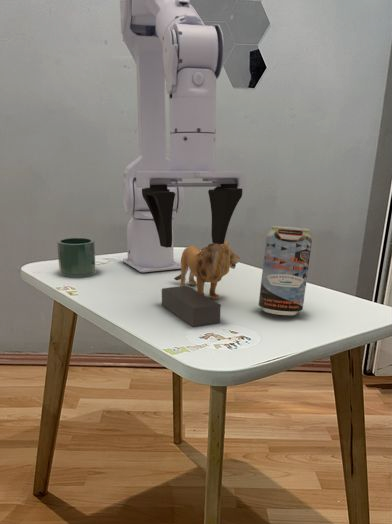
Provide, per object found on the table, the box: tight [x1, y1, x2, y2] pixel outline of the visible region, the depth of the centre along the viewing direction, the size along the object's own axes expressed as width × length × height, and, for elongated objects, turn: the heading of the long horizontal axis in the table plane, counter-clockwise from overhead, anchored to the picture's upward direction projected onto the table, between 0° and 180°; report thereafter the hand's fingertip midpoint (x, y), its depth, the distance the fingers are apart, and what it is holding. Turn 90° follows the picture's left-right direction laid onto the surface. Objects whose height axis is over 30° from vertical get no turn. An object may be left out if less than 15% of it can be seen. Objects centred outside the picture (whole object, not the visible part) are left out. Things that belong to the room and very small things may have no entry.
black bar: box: [161, 285, 221, 327], centre depth 77 cm, size 10×4×2 cm, turn 27°
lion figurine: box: [173, 240, 241, 300], centre depth 85 cm, size 15×5×9 cm, turn 33°
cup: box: [56, 237, 97, 278], centre depth 96 cm, size 6×6×6 cm
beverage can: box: [258, 225, 313, 316], centre depth 76 cm, size 6×7×12 cm
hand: (192, 244), depth 74 cm, fingers open, 7 cm apart
